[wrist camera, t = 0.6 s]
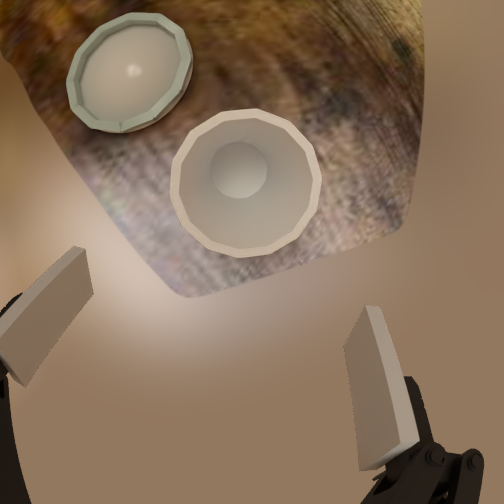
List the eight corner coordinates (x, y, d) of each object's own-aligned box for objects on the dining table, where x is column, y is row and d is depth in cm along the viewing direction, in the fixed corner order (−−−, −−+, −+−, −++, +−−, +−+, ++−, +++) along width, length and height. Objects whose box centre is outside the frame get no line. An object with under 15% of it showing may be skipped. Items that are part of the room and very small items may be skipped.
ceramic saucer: (137, 1, 20) (132, -6, 18) (221, 62, 24) (221, 56, 22) (55, 90, 23) (46, 88, 21) (128, 159, 27) (121, 160, 25)
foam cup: (295, 145, 28) (342, 144, 16) (265, 223, 31) (289, 274, 19) (210, 115, 26) (197, 89, 14) (182, 196, 29) (152, 231, 17)
